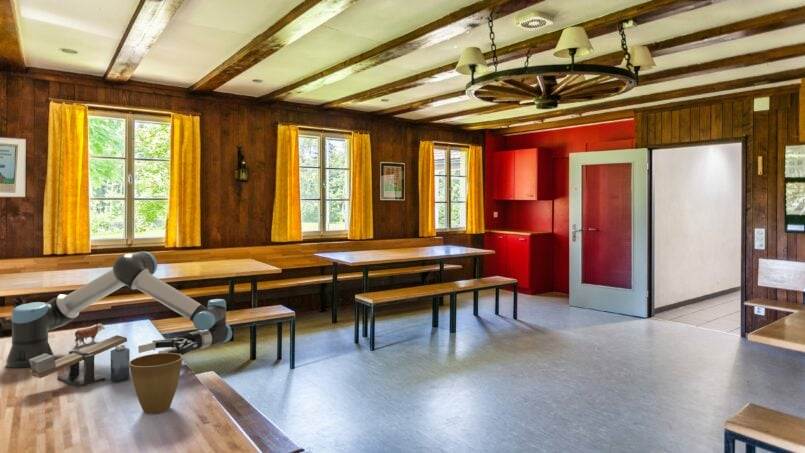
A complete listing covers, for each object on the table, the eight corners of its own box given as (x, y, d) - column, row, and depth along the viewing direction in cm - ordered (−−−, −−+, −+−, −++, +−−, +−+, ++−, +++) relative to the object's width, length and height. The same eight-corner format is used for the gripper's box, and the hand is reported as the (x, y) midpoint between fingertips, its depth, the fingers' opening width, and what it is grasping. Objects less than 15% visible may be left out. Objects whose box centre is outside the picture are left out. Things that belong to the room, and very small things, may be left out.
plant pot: (192, 402, 159) (192, 354, 158) (160, 421, 144) (160, 368, 144) (153, 398, 162) (153, 350, 162) (117, 416, 148) (117, 364, 147)
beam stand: (57, 378, 179) (57, 352, 179) (83, 372, 187) (83, 346, 187) (79, 387, 171) (78, 359, 171) (105, 380, 179) (105, 353, 178)
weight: (107, 380, 178) (107, 346, 178) (123, 376, 183) (123, 343, 183) (116, 384, 175) (116, 349, 175) (132, 379, 180) (132, 345, 180)
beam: (29, 375, 169) (25, 359, 168) (116, 339, 194) (113, 325, 192) (41, 380, 164) (37, 364, 163) (129, 342, 189) (125, 328, 188)
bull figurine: (106, 340, 233) (106, 323, 233) (77, 346, 221) (77, 329, 221) (100, 338, 235) (100, 322, 235) (71, 345, 223) (71, 327, 222)
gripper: (216, 353, 199) (168, 367, 181) (179, 344, 213) (131, 356, 195) (216, 335, 199) (168, 347, 181) (179, 327, 212) (130, 337, 194)
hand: (148, 352), depth 188 cm, fingers open, 13 cm apart
